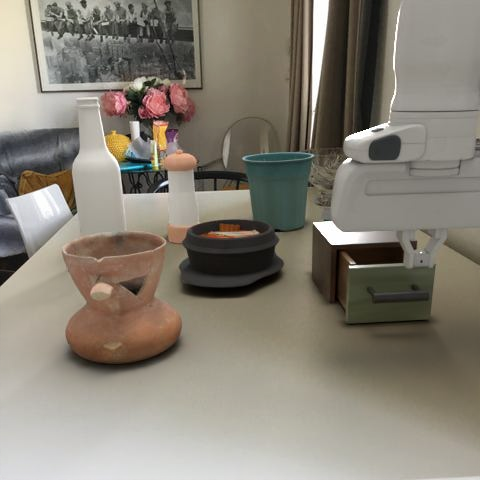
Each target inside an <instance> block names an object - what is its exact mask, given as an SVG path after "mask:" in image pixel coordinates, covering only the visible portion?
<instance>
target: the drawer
mask: <svg viewBox="0 0 480 480" xmlns="http://www.w3.org/2000/svg"><path fill="white" fill-rule="evenodd" d="M403 261H404V250H403V248H402V247H387V248H366V249H344V250H337V253H336V280H335V295H336V296H337V298H338V299H339V301H340V302H341V303H340V305H341V306H342V307H343V309H344V310H345V319H344V320H345V322H346V324H365V323H366V324H367V323H383V322H384V323H386V322H403V321H424V320H431V314H432V306H433V305H432V304H433V297H434V296H433V295H434V285H435V275H436V268H437V267H436V266H437V264H436V263H435V262H434V266H433V268H412V269H407V268H406V267H405V266H404V262H403Z"/></svg>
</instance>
